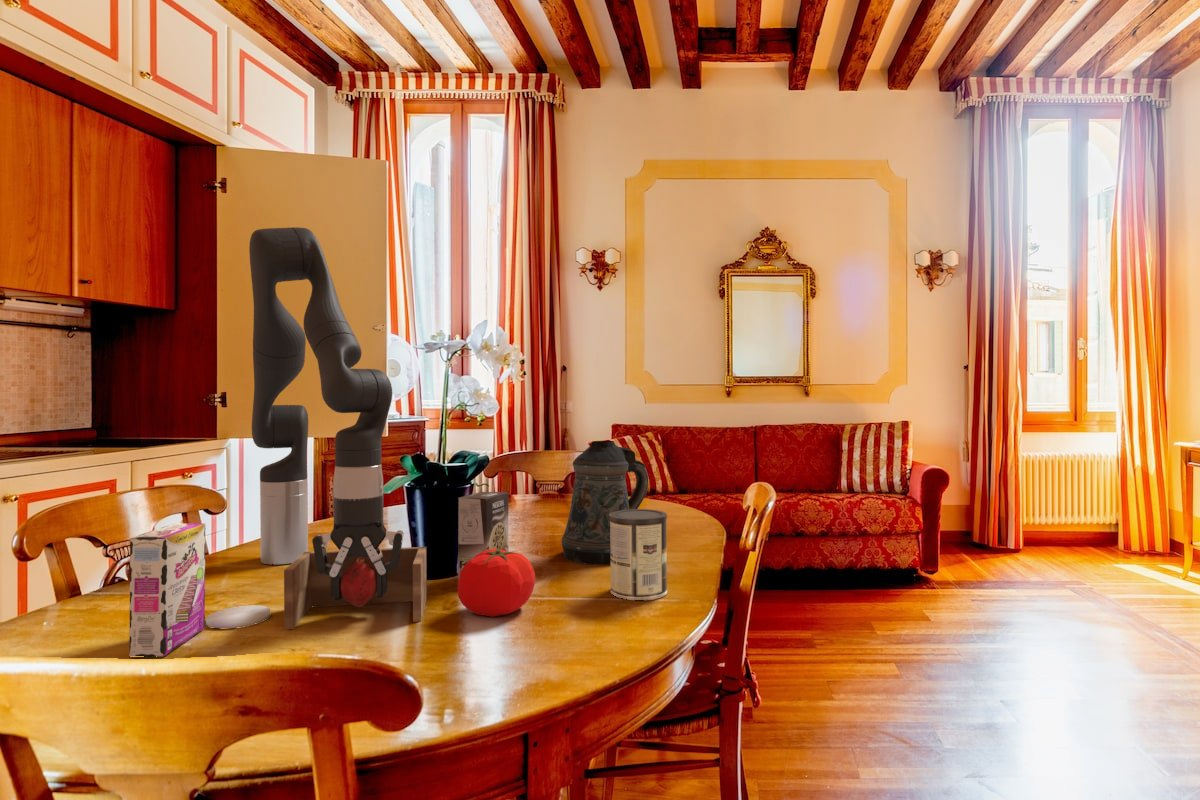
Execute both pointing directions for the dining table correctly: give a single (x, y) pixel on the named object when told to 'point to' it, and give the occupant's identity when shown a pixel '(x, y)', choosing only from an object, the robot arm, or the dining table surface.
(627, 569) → the coffee can
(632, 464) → the beer stein
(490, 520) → the coffee box
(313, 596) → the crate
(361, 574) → the onion
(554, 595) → the dining table surface
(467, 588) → the tomato
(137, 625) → the candy bar box
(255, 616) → the coaster
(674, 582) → the dining table surface
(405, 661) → the dining table surface
